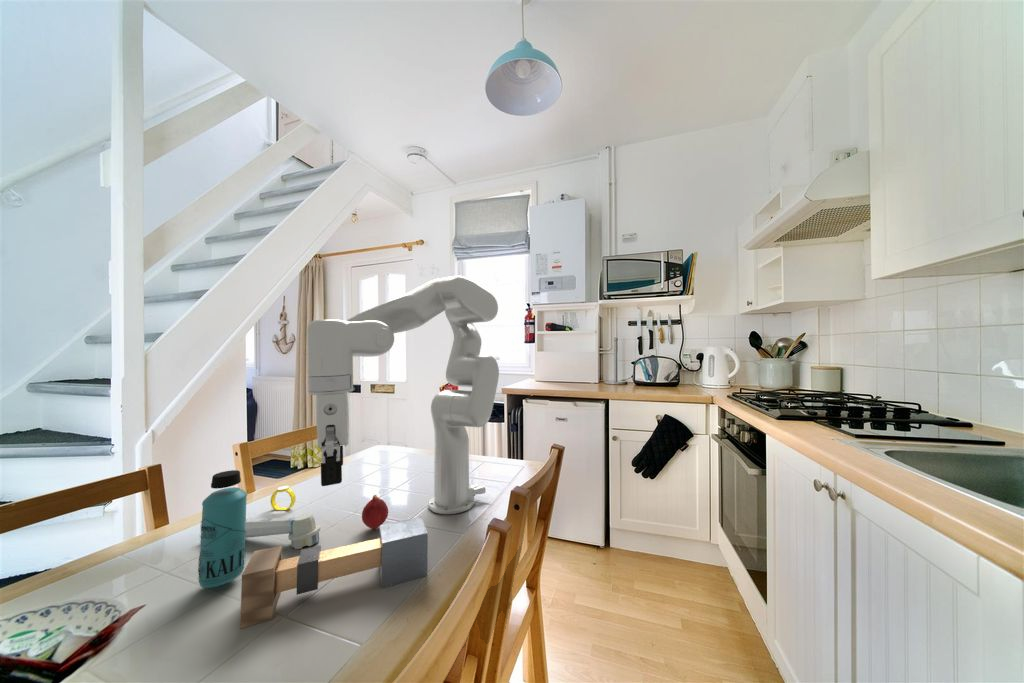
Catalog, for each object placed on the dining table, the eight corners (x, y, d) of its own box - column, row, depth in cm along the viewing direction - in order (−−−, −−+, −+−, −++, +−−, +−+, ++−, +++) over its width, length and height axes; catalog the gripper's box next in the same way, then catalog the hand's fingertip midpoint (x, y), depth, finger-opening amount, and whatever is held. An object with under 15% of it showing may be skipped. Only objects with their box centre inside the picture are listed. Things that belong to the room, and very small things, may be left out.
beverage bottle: (216, 574, 63) (220, 467, 64) (254, 572, 63) (257, 465, 64) (185, 599, 56) (190, 479, 57) (227, 596, 57) (231, 478, 58)
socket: (281, 590, 58) (282, 545, 58) (272, 619, 52) (273, 568, 52) (253, 598, 56) (254, 551, 57) (240, 628, 50) (241, 575, 50)
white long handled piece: (226, 515, 78) (323, 505, 76) (228, 544, 78) (326, 535, 75) (203, 527, 73) (307, 516, 70) (205, 558, 73) (310, 548, 70)
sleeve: (420, 555, 68) (421, 516, 69) (427, 575, 62) (427, 532, 62) (379, 565, 65) (379, 525, 65) (381, 588, 59) (382, 543, 59)
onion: (393, 525, 81) (393, 491, 81) (376, 537, 75) (376, 501, 76) (373, 521, 83) (374, 488, 83) (356, 533, 77) (356, 498, 78)
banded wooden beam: (382, 557, 64) (382, 531, 64) (384, 571, 60) (384, 544, 60) (262, 586, 56) (263, 557, 56) (254, 605, 52) (255, 574, 52)
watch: (268, 513, 88) (267, 490, 88) (276, 508, 91) (275, 486, 91) (290, 511, 88) (289, 488, 88) (297, 506, 91) (296, 484, 91)
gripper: (353, 387, 57) (355, 487, 57) (353, 379, 72) (354, 458, 72) (302, 391, 54) (304, 497, 53) (313, 382, 69) (314, 464, 69)
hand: (333, 474), depth 63 cm, fingers open, 9 cm apart
